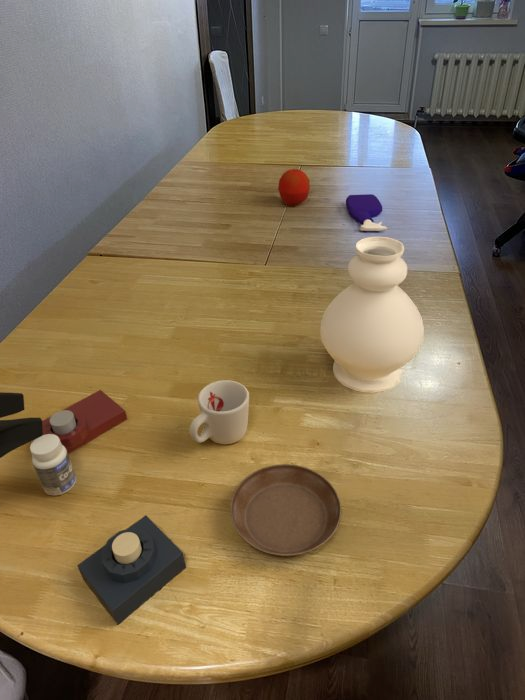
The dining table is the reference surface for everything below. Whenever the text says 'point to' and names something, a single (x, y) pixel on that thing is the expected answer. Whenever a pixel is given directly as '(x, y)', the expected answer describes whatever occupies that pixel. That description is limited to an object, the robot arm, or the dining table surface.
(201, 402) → the cup
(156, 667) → the dining table surface
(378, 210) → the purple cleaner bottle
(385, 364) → the decorative vase
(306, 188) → the apple
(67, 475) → the pill bottle
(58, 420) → the light grey cylinder
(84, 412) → the red socket plate
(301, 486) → the saucer
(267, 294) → the dining table surface
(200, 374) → the dining table surface
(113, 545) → the cylindrical peg
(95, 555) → the dark knob button block
